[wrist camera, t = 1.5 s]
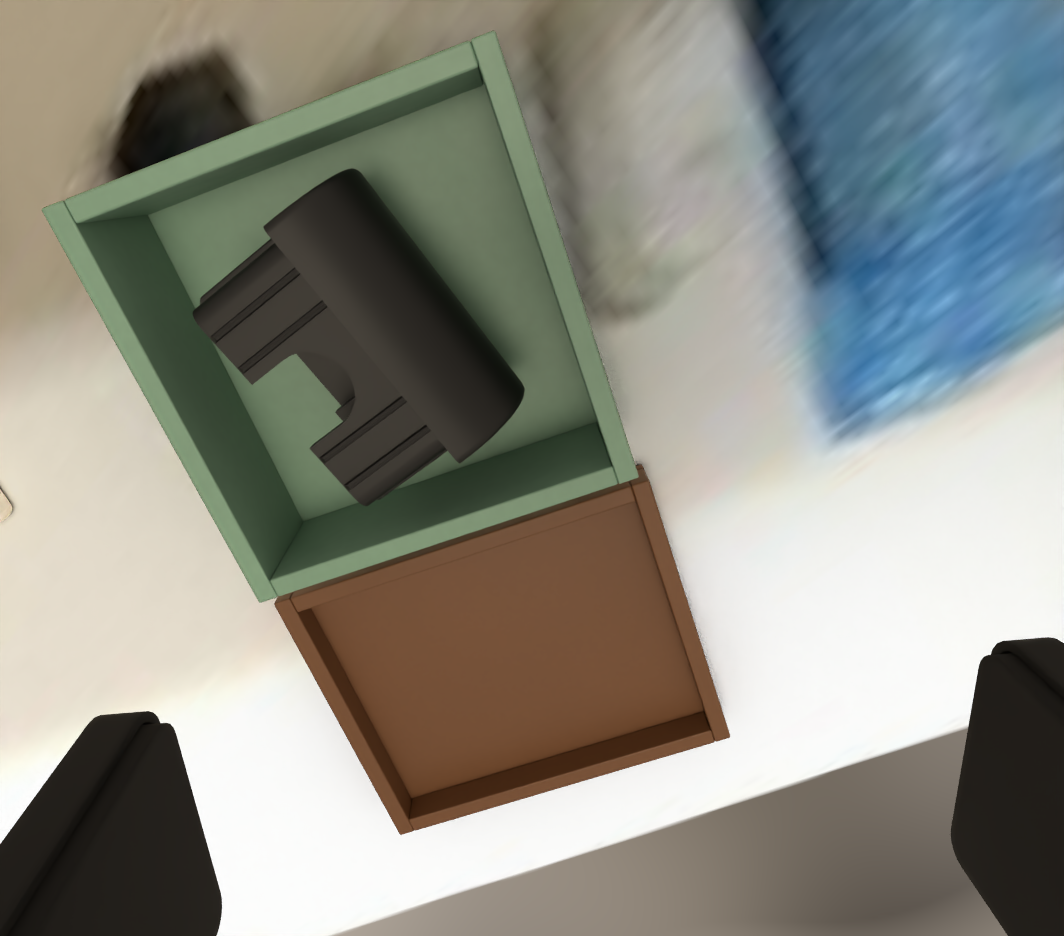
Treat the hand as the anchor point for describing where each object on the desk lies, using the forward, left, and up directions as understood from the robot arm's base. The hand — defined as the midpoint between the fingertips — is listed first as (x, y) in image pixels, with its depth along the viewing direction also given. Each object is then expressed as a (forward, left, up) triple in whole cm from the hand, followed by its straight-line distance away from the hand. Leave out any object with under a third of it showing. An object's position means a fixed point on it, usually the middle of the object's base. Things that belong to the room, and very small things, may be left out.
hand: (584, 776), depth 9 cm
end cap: (+5, -3, -25) cm, 26 cm away
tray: (+6, +14, -25) cm, 30 cm away
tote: (+5, -3, -25) cm, 26 cm away
